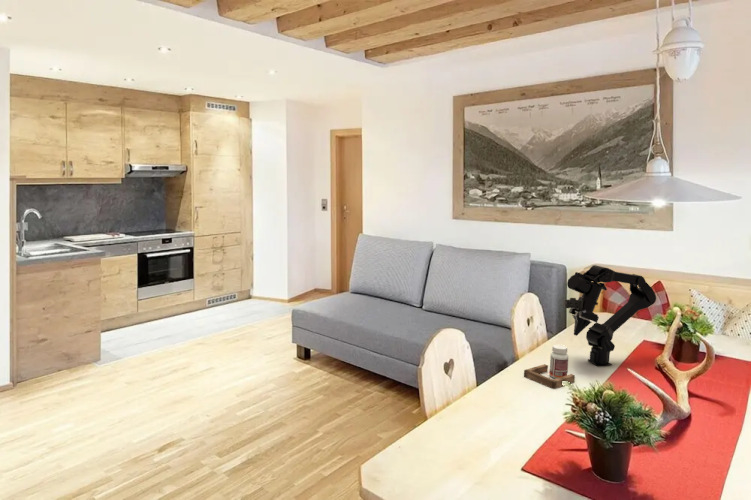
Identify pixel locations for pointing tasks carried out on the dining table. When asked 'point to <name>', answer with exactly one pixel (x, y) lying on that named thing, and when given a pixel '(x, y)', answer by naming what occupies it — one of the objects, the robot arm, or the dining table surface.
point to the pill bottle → (558, 361)
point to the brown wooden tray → (535, 376)
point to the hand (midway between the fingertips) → (575, 335)
